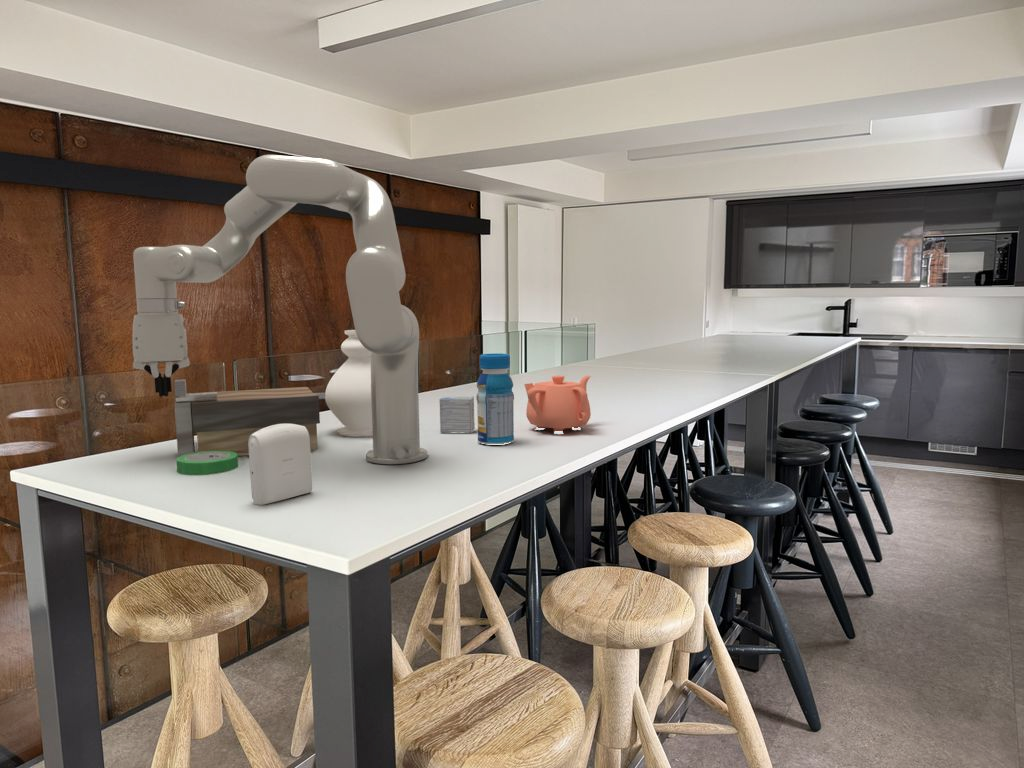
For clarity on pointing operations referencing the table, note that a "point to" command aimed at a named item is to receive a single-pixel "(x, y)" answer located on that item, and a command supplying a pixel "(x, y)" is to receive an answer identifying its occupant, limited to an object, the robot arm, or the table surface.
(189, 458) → the tape roll
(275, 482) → the photo printer
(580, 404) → the teapot
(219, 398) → the lid
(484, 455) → the table surface
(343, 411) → the decorative vase
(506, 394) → the beverage bottle
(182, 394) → the brushed metal corner piece
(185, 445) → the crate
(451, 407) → the medicine box
